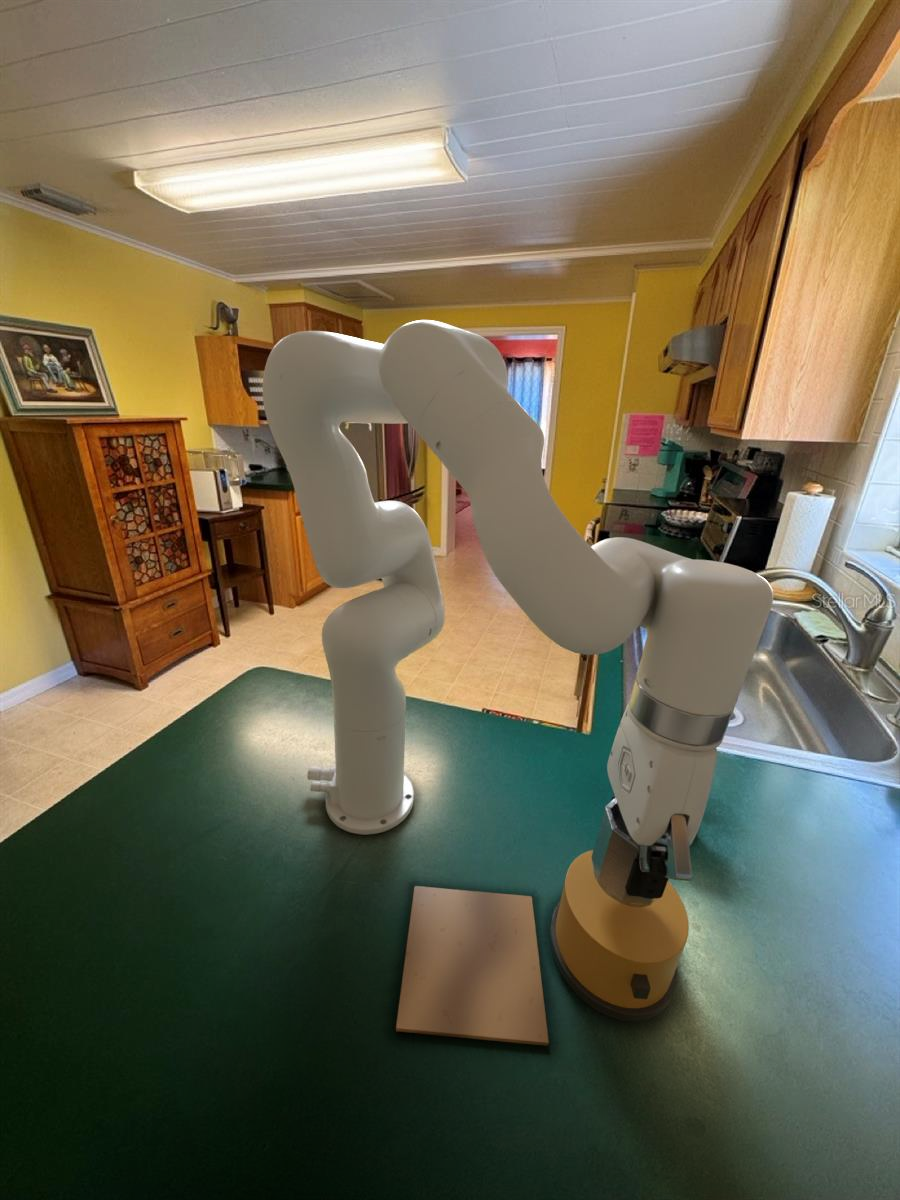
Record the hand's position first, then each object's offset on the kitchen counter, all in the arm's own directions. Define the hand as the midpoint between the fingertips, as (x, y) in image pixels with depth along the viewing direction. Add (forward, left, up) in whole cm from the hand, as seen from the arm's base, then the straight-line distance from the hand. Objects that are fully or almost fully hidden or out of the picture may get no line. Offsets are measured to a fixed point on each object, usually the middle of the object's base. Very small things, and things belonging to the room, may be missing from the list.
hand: (630, 857), depth 46 cm
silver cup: (0, 0, -3) cm, 3 cm away
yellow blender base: (0, 0, -13) cm, 13 cm away
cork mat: (-15, -2, -13) cm, 20 cm away
